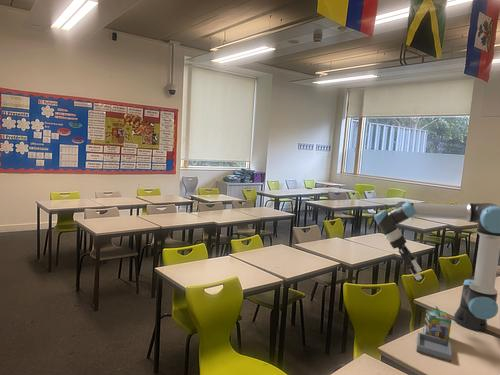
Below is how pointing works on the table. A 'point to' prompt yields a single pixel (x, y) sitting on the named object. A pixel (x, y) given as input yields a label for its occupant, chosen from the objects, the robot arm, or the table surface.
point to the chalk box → (437, 324)
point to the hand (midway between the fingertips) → (419, 275)
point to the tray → (434, 346)
